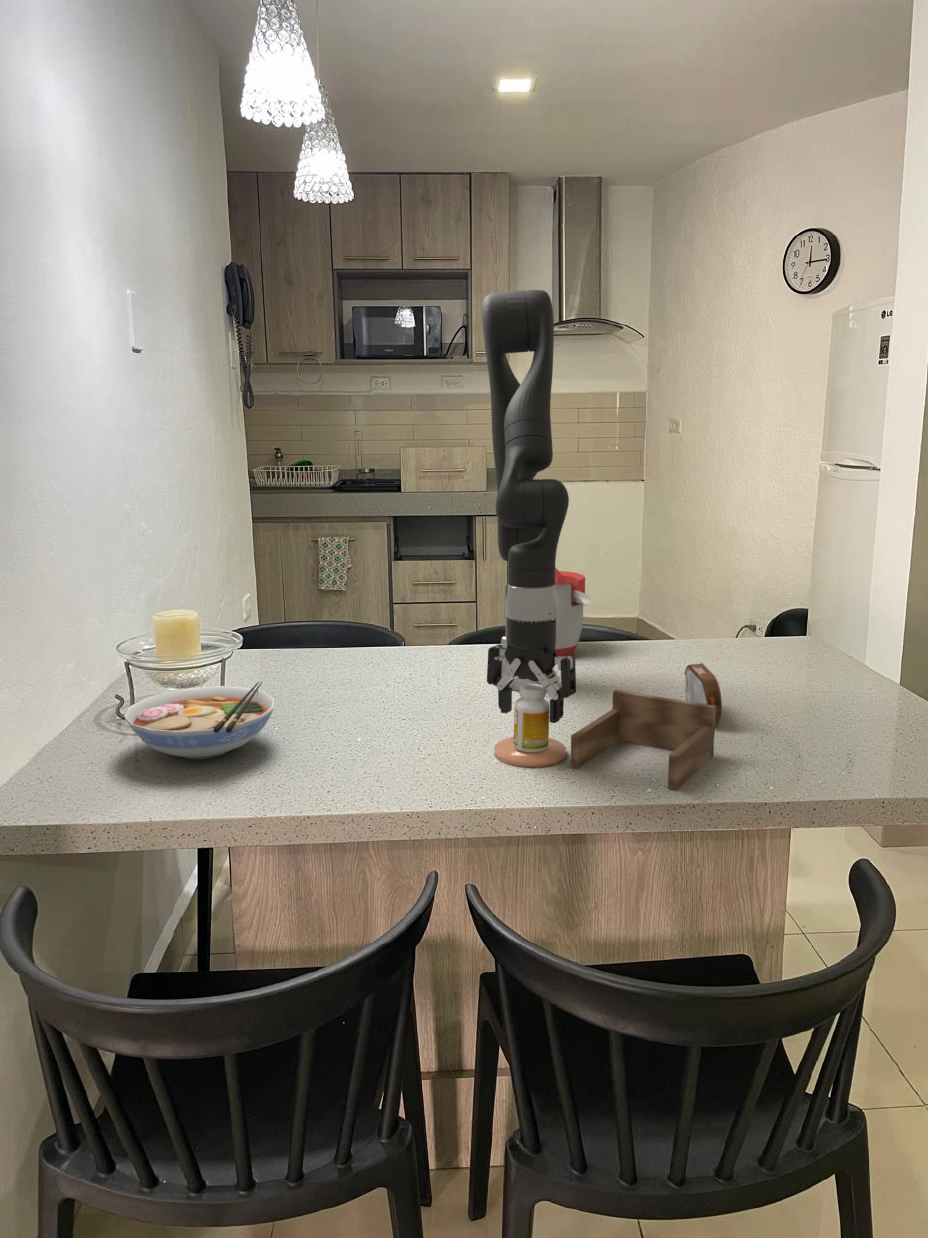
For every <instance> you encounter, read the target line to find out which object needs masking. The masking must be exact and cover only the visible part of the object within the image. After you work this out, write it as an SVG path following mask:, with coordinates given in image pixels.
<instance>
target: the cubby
mask: <svg viewBox="0 0 928 1238" xmlns="http://www.w3.org/2000/svg"><path fill="white" fill-rule="evenodd" d="M715 714H716V706H713V705H707V704H701V703H695V702H689V701H687V700H683V699H676V698H671V697H665V696H664V697H663V696H659V695H653V694H645V693H640V692H633V691H628V690H622V689H618V688H617V689H614V690H612V709H610V710H609V711H607V712H606V713H604V714H603V715H601V716H599V717H598V718H596V719H595V720H593V721H591V722H590V723H589V724H587V725H585V726H584V727H581V729H579V730H577V731H576V732H574V733H573V734H571V735H570V768H573V769H580V768H581V767H583V766H584V765H585V764H587V763H588V762H590V761H591V760H593V759H594V758H595V757H597V756H598V755H599V754H601V753H602V752H604V751H605V750H607V749H608V748H610V747H611V746H612V745H614V744H615V743H617V742H618V741H621V742H626V743H631V744H637V745H642V746H646V747H652V748H656V749H657V748H658V749H661V750H663V749H664V750H668V751H672V752H670V753H669V755H668V773H667V774H668V775H667V776H668V777H667V789H669V790H673V791H677V790H678V789H679V788H680V787H681V786H682V785H684V783H685V782H687V781H688V780H689V779H690V777H692V776H694V774H695V773H697V771H699V769H701V768H702V767H703V766H704V765H705V764H706V763H708V761H709V760H710V759H711V758H713V757H714V749H715V730H716V723H715Z"/></svg>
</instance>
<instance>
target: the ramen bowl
mask: <svg viewBox="0 0 928 1238" xmlns="http://www.w3.org/2000/svg"><path fill="white" fill-rule="evenodd" d="M262 684H263V682H262V681H261V682H259V681H258V682H256V684H255V685H254V686H253V687H252V688H250V687H242V686H229V685H228V686H225V685H216V686H215V685H213V686H201V687H200V686H198V687H197V686H195V687H190V688H184V689H178V690H170V691H165V692H162V693H159V694H155V695H151V696H148V697H145V698H143V699H141V700H139V701H136V702H135V703H134V704H132V705H129V706H128V707H127V709H126V711H125V713H124V714H123V718H124V719H125V720H126V721H125V722H126V723H127V724H128V725H129V727H130V728H131V729H132V730H133V731H134V733H135V734H136V735H137V737H139V738H140V739H141V741H142V742H144V743H145V744H146V745H147V746H148V747H149V748H152V749H154V750H155V751H158V752H161V753H164V754H167V755H170V756H174V757H182V758H185V759H188V760H207V759H213V758H216V757H220V756H223V755H225V754H226V753H227V752H230V751H232V750H235V749H237V748H240V747H242V746H244V745H245V744H246V743H248V742H250V741H251V740H252V739H253V738H255V737H256V736H257V735H259V734H260V732H262V730H263V728H265V726H266V724H267V723H268V721H269V720H270V718H271V715H272V713H273V711H274V708H275V698H274V697H273V696H271V695H270V694H268V693H267V692H266V691H263V690H259V688H260V687H261V685H262ZM257 685H258V686H257Z"/></svg>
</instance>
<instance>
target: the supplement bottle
mask: <svg viewBox="0 0 928 1238" xmlns="http://www.w3.org/2000/svg"><path fill="white" fill-rule="evenodd" d="M518 692H519V697H520V698H518V699H517V700H516V701H515V703H514V710H513V711H514V713H513V714H514V715H513V737H514V741H513V742H514V747H515V748H516V749H517V750H519V751H523V752H530V753H537V752H542V751H544V750H546V749H547V748H548V738H550V737H549V734H550V702H549V701H548V700H547V699H545V697H546V692H547V690H546V688H544V687H543V686H542V685H539V684H523V685H521V686H520V690H519V691H518Z"/></svg>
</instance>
